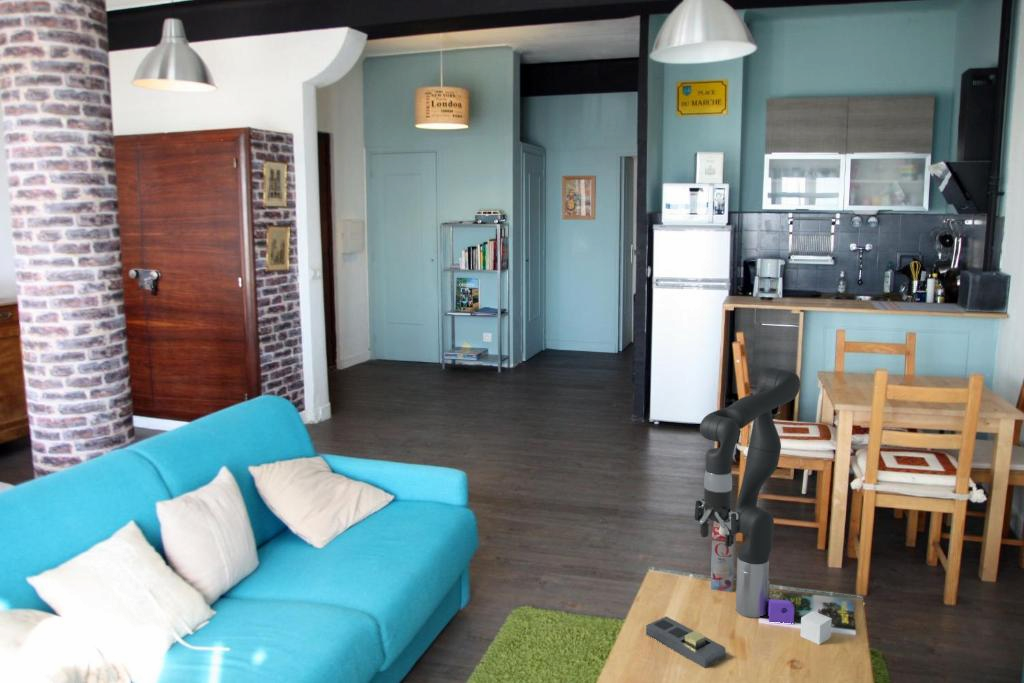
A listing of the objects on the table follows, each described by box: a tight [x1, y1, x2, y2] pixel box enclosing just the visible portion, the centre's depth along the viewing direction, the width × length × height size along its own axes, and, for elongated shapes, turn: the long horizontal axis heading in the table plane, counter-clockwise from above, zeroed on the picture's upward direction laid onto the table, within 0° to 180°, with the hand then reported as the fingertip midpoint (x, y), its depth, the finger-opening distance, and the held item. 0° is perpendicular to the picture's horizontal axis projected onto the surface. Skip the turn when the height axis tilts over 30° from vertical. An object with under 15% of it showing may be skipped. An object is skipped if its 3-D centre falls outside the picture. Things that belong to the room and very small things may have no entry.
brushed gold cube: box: [685, 630, 706, 650], centre depth 237 cm, size 4×5×5 cm
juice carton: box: [710, 521, 737, 593], centre depth 274 cm, size 7×7×22 cm
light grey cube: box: [800, 610, 833, 645], centre depth 243 cm, size 6×6×6 cm
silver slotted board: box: [645, 615, 726, 669], centre depth 240 cm, size 8×22×3 cm, turn 37°
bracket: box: [767, 598, 795, 625], centre depth 257 cm, size 12×7×7 cm, turn 169°
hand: (716, 541), depth 238 cm, fingers open, 8 cm apart
